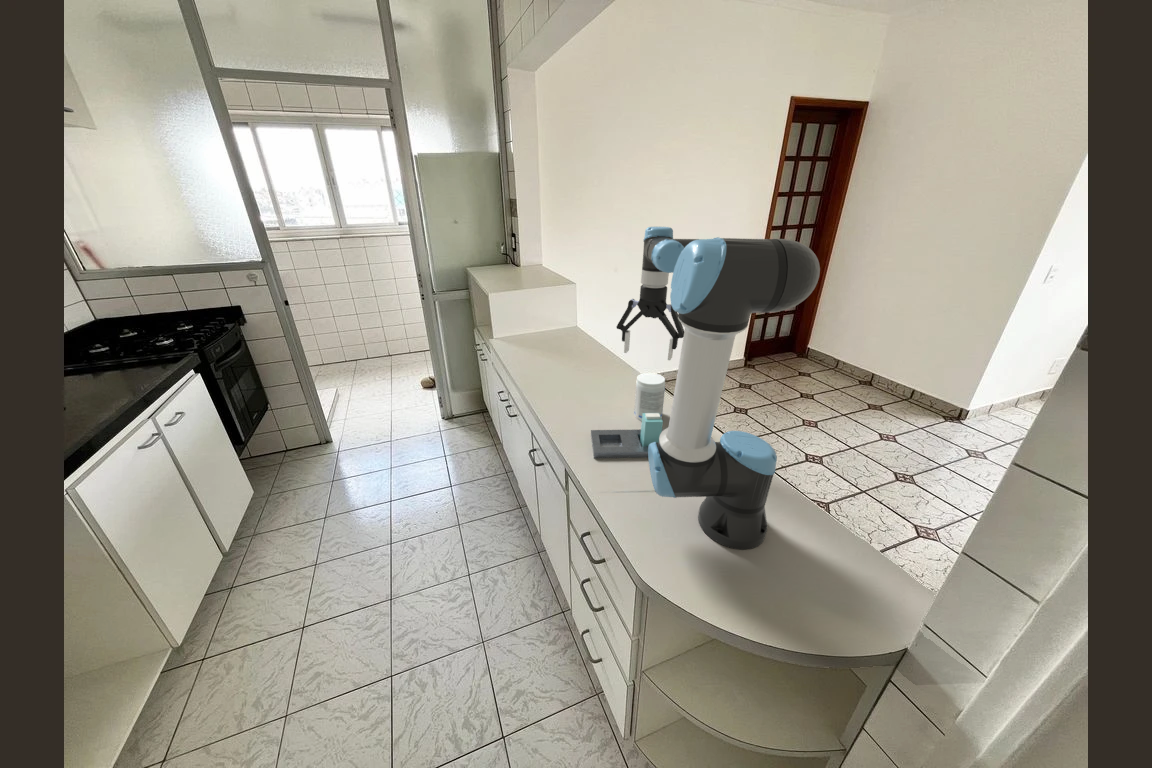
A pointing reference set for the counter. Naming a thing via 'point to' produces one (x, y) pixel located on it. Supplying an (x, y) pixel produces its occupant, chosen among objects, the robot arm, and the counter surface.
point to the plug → (650, 428)
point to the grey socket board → (618, 444)
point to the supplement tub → (649, 394)
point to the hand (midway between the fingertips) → (647, 355)
